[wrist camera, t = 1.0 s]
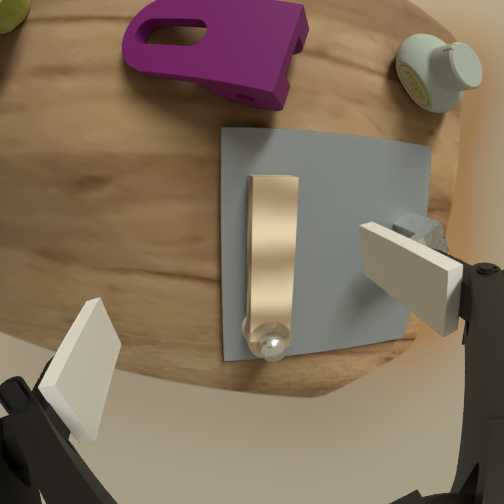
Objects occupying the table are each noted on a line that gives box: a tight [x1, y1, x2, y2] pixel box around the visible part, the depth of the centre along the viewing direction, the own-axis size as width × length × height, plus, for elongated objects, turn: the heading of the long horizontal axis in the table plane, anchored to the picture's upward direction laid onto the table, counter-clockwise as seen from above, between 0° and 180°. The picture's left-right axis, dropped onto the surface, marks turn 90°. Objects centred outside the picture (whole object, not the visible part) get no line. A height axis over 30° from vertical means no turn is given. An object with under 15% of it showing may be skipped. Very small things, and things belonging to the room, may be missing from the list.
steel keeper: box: [383, 212, 449, 297], centre depth 36 cm, size 10×4×6 cm, turn 121°
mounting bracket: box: [122, 0, 309, 111], centre depth 29 cm, size 10×8×18 cm
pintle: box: [241, 314, 287, 362], centre depth 36 cm, size 6×6×6 cm
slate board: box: [220, 127, 432, 361], centre depth 39 cm, size 27×28×2 cm
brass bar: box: [244, 175, 299, 358], centre depth 35 cm, size 20×5×3 cm, turn 179°
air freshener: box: [396, 34, 482, 113], centre depth 30 cm, size 11×8×10 cm
